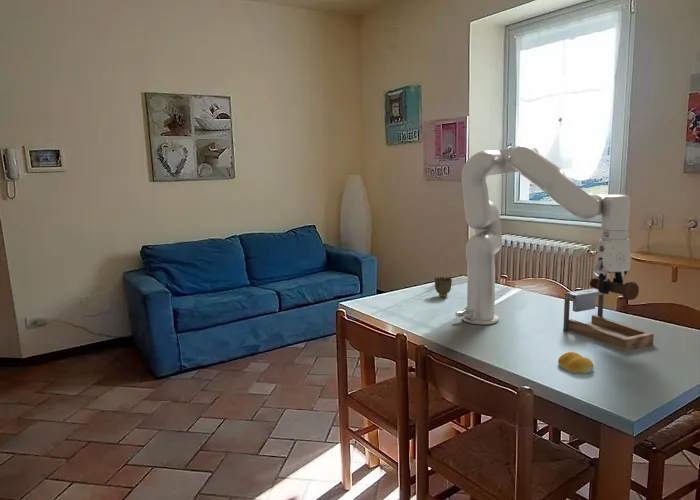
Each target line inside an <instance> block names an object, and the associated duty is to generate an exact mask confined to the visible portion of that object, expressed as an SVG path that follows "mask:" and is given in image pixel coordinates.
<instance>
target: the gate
mask: <svg viewBox="0 0 700 500" xmlns="http://www.w3.org/2000/svg"><path fill="white" fill-rule="evenodd" d="M567 293H570V299H572V312H575V313H577V312H584V311H590V310H595V309H596V302H597V301H596V297H597V296H599V295H603V293H600V292H599V291H598V289H596V288H593V287H592V288H589V289H581V290H576V291H569V292H567Z"/></svg>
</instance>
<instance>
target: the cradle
mask: <svg viewBox="0 0 700 500" xmlns="http://www.w3.org/2000/svg"><path fill="white" fill-rule="evenodd" d="M604 296H605V294H604V293H603V295H598V297H597V298H598V300H597V302H598V303H597V314H592V315H591V320H590V322H586V323H584V322H580V321H578V320H576V319H573V318H570V304H571V298H570V293H568V292H564V306H563V324H562V325H563V326H562V327H563V328H562V329H563V332H564V333H567V332H569V331H570V332H573V333H575V334H578V335H580V336H583V337H586V338H588V339H591V340H594V341H596V342H598V343H601V344H605V345H606V346H609V347H611V348H612V347H613V348H614V349H617V350H620V351H623V352H628V351H632V350H638V349H641V348H646V347H650V346H654V340H655V339H654V336H655V333H652V332H650V331H646V330H644V329H640V328H638V327H637V328H636V327H635V326H630V325H628V324H624V323H621V322H618V321H615V320H612V319H609V318H606V317H603V316H604V315H603V313H604V299H605V297H604Z"/></svg>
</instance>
